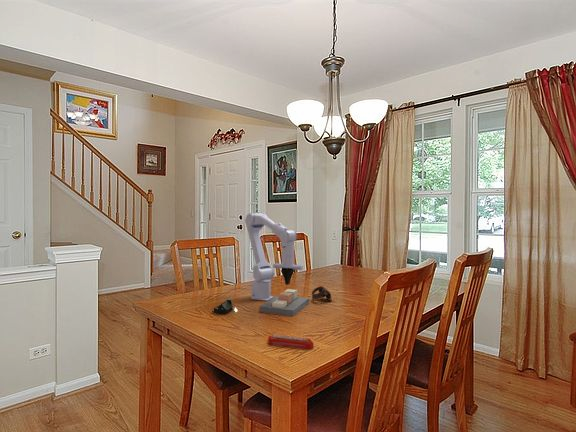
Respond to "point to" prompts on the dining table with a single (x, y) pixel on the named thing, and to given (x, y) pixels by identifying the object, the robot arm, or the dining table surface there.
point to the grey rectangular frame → (288, 310)
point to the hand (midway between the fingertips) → (287, 284)
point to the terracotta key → (285, 297)
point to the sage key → (294, 293)
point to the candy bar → (290, 341)
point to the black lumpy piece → (224, 307)
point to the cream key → (279, 304)
